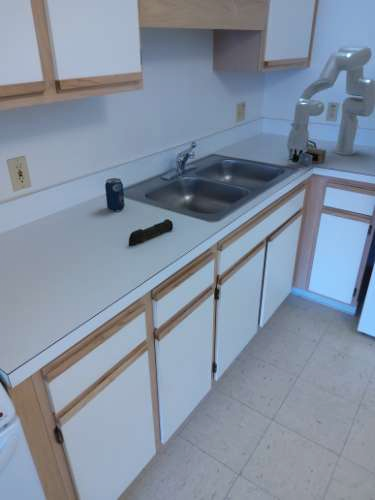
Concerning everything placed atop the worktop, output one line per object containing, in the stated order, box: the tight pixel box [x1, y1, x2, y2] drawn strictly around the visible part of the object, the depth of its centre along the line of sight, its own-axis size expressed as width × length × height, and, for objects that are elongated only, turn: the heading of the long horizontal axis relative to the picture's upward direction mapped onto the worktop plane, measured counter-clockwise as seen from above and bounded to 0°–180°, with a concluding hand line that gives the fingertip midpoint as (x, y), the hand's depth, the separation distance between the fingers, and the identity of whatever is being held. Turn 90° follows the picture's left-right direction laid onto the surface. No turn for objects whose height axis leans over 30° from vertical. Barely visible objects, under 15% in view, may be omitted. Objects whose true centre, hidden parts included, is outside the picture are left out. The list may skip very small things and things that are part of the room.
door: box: [288, 150, 313, 166], centre depth 215 cm, size 2×17×5 cm, turn 27°
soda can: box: [104, 177, 126, 212], centre depth 155 cm, size 7×7×12 cm
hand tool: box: [128, 218, 174, 246], centre depth 135 cm, size 19×4×5 cm, turn 134°
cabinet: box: [304, 147, 327, 165], centre depth 220 cm, size 8×17×6 cm, turn 53°
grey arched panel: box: [288, 138, 318, 152], centre depth 233 cm, size 17×5×10 cm, turn 51°
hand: (295, 161), depth 210 cm, fingers closed
